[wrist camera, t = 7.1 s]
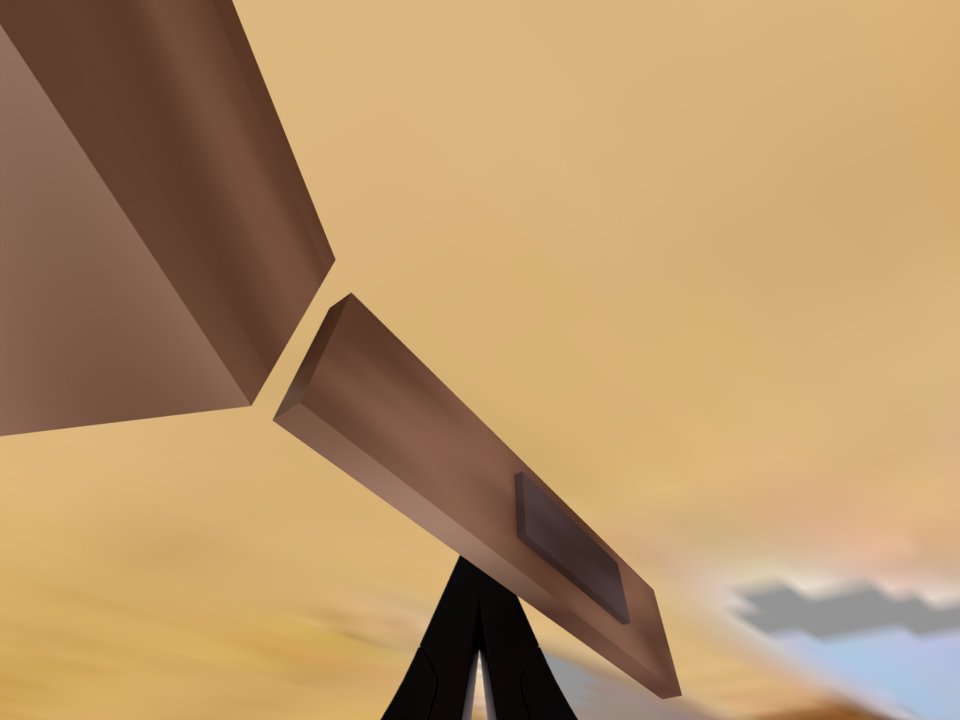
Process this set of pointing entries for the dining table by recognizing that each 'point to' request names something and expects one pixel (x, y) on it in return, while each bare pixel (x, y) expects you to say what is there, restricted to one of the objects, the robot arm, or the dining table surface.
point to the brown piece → (143, 214)
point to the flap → (468, 489)
